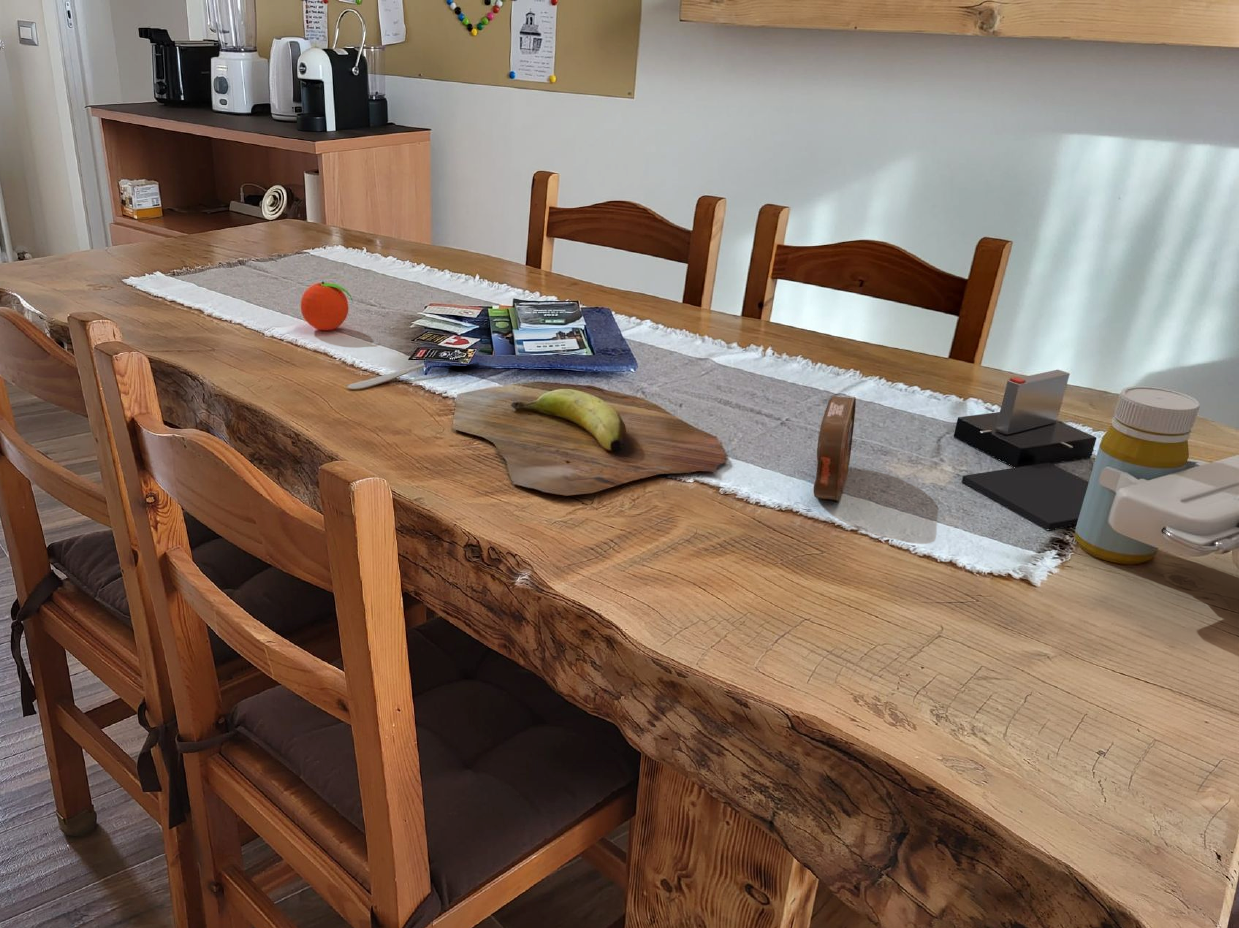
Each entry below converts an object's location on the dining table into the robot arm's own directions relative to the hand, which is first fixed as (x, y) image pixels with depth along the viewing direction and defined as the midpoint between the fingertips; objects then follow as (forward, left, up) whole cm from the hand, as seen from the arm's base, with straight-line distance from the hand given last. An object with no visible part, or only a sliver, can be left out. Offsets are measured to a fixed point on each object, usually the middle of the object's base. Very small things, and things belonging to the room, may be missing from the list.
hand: (1129, 467), depth 94 cm
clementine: (+56, -90, -8) cm, 106 cm away
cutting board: (+37, -41, -8) cm, 56 cm away
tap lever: (-11, -22, -5) cm, 25 cm away
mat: (-3, -10, -8) cm, 13 cm away
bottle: (0, +1, -8) cm, 8 cm away
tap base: (-11, -22, -8) cm, 26 cm away
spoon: (+49, -66, -8) cm, 83 cm away
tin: (+17, -20, -8) cm, 28 cm away
